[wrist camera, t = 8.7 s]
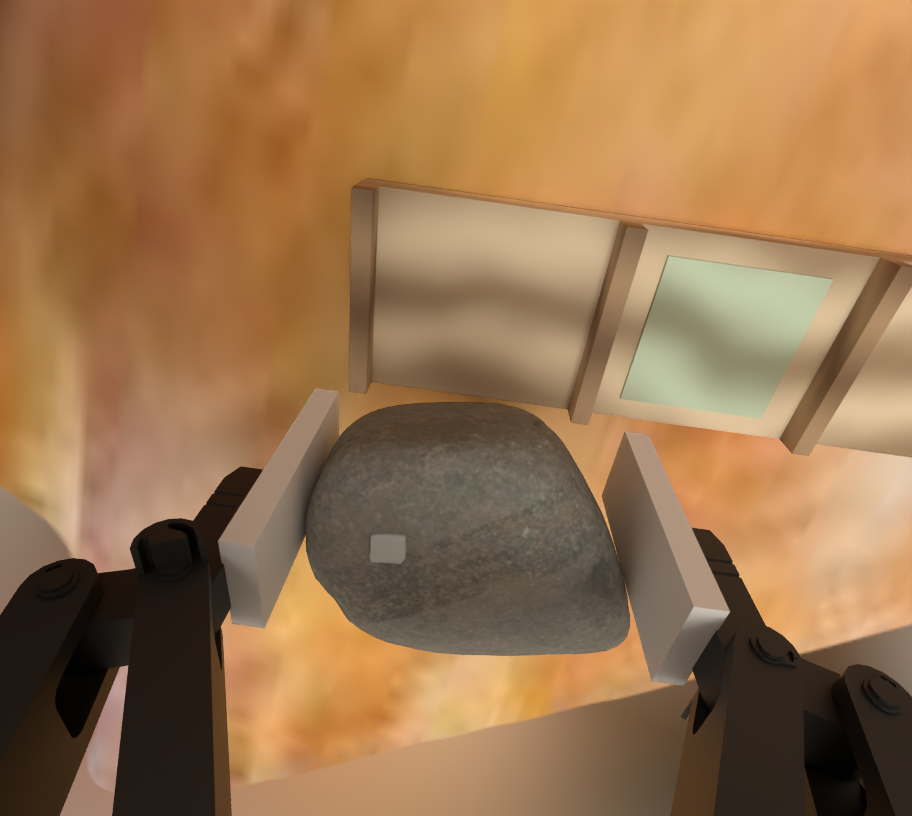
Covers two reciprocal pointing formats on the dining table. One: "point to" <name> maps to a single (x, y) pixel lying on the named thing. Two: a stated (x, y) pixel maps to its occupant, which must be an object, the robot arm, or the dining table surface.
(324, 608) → the dining table surface
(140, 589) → the robot arm
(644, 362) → the ledge
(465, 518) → the stone
